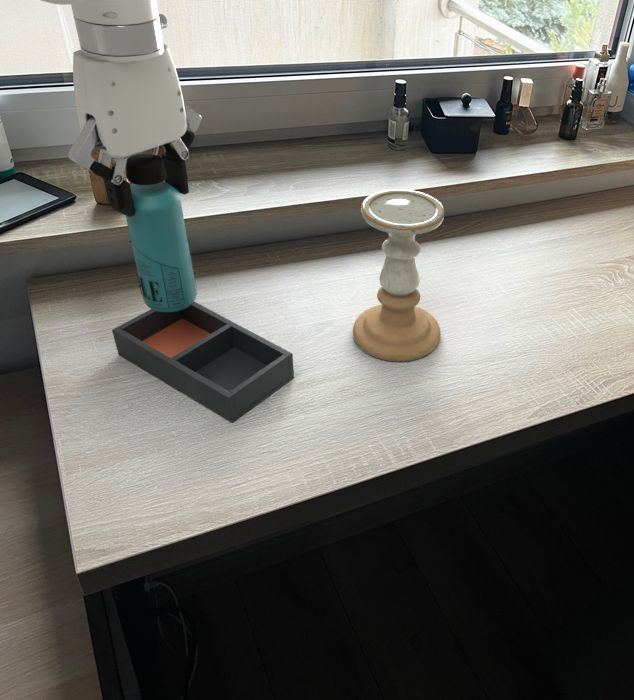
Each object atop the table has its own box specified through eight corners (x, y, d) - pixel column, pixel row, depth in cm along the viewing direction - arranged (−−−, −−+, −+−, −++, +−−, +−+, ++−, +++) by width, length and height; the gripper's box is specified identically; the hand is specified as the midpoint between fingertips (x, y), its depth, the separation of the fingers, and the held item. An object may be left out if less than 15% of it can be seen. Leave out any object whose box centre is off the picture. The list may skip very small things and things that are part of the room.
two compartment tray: (232, 423, 86) (228, 398, 83) (118, 355, 93) (111, 329, 91) (294, 377, 93) (292, 353, 91) (184, 317, 101) (179, 293, 98)
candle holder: (445, 362, 99) (458, 232, 86) (354, 363, 97) (354, 231, 84) (434, 309, 108) (445, 186, 96) (351, 310, 106) (351, 183, 94)
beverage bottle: (207, 297, 93) (186, 150, 81) (186, 327, 88) (160, 175, 76) (158, 290, 94) (129, 142, 81) (134, 320, 88) (99, 166, 76)
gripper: (166, 12, 78) (189, 167, 89) (11, 42, 66) (59, 217, 77) (216, 28, 75) (233, 186, 86) (63, 63, 63) (106, 241, 74)
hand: (151, 199), depth 82 cm, fingers closed on beverage bottle, 6 cm apart
